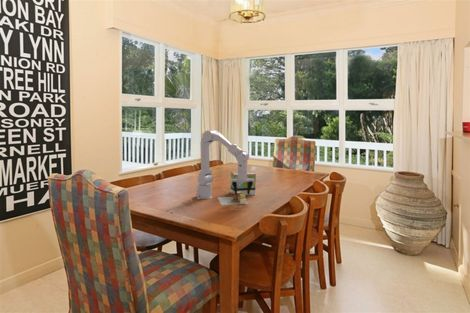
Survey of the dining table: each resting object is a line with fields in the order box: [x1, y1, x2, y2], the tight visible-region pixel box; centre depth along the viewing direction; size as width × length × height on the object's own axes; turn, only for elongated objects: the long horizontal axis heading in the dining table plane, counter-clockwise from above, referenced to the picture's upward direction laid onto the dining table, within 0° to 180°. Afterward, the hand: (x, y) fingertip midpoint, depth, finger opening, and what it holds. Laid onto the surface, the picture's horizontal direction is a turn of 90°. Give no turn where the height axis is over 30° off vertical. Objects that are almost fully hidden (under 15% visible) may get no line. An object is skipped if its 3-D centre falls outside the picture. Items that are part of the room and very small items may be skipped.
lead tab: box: [239, 194, 246, 202], centre depth 191 cm, size 3×3×5 cm
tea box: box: [229, 171, 257, 196], centre depth 214 cm, size 15×10×15 cm, turn 105°
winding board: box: [217, 191, 249, 206], centre depth 196 cm, size 16×18×6 cm
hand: (242, 194), depth 191 cm, fingers open, 7 cm apart
